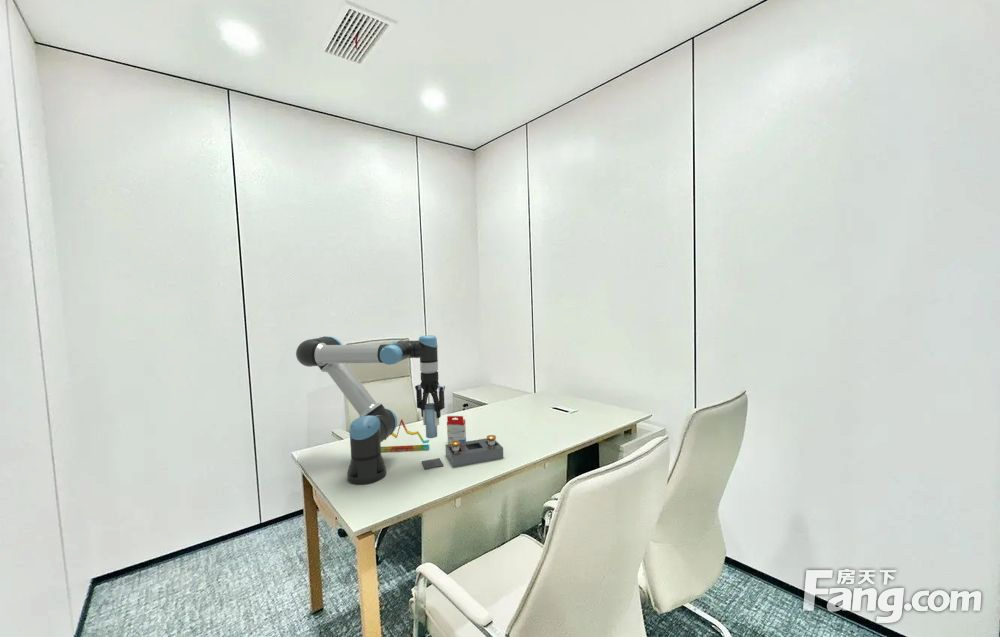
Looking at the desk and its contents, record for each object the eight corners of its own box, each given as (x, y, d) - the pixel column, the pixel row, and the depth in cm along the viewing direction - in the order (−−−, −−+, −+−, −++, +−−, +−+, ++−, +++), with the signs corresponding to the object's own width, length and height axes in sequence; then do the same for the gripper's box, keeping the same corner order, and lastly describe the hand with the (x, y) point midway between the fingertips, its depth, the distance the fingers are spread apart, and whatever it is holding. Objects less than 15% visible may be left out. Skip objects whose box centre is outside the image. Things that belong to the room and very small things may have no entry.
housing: (453, 467, 166) (452, 456, 166) (445, 455, 179) (445, 444, 179) (503, 458, 174) (503, 447, 174) (492, 447, 187) (492, 437, 187)
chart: (363, 453, 184) (362, 422, 184) (365, 451, 188) (364, 420, 187) (428, 451, 186) (427, 420, 185) (429, 448, 189) (428, 417, 188)
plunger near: (452, 461, 171) (451, 444, 171) (450, 457, 175) (449, 441, 175) (461, 459, 173) (461, 443, 172) (459, 456, 177) (458, 440, 176)
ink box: (466, 442, 196) (465, 413, 195) (464, 445, 191) (463, 416, 190) (449, 441, 196) (448, 413, 196) (447, 445, 192) (446, 416, 191)
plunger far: (488, 455, 177) (488, 438, 177) (485, 451, 181) (485, 435, 181) (497, 453, 179) (497, 437, 178) (494, 450, 183) (494, 434, 182)
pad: (424, 469, 165) (424, 468, 165) (421, 462, 172) (421, 461, 172) (443, 466, 168) (443, 465, 168) (439, 459, 175) (439, 458, 175)
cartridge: (433, 438, 166) (432, 406, 166) (423, 437, 168) (422, 405, 167) (439, 434, 171) (438, 403, 170) (429, 433, 172) (428, 402, 172)
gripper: (451, 370, 168) (453, 423, 170) (415, 369, 174) (417, 420, 176) (443, 373, 161) (445, 429, 163) (406, 372, 167) (408, 425, 168)
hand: (431, 424), depth 169 cm, fingers closed on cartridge, 5 cm apart
